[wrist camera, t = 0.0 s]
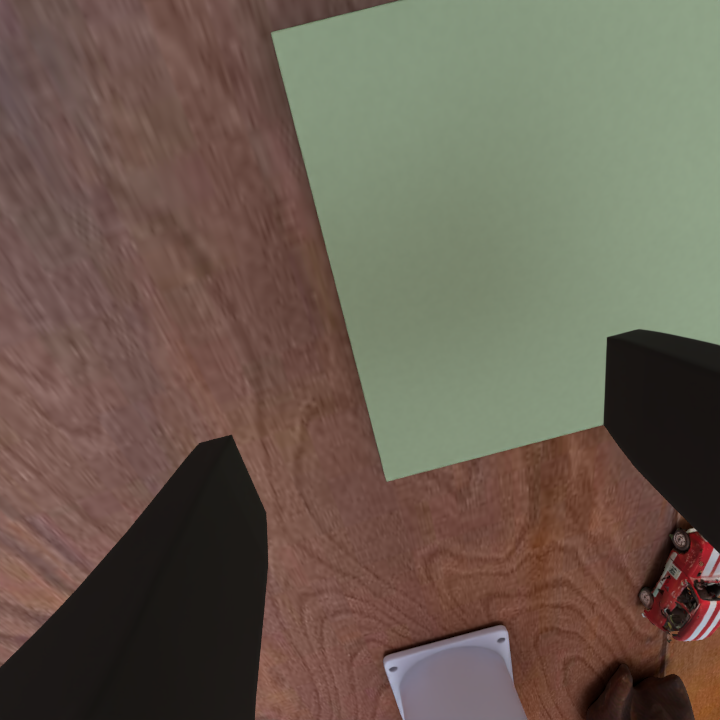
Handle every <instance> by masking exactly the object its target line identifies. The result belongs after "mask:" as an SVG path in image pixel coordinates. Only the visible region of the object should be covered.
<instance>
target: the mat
mask: <svg viewBox="0 0 720 720" xmlns="http://www.w3.org/2000/svg"><path fill="white" fill-rule="evenodd" d="M271 36H272V40H273V44H274V48H275V52H276V56H277V59H278V63H279V67H280V71H281V75H282V79H283V83H284V87H285V90H286V94H287V98H288V102H289V106H290V110H291V114H292V118H293V122H294V125H295V129H296V133H297V137H298V141H299V145H300V149H301V153H302V156H303V160H304V164H305V168H306V172H307V176H308V180H309V184H310V188H311V191H312V195H313V199H314V203H315V207H316V211H317V215H318V219H319V222H320V226H321V230H322V234H323V238H324V242H325V246H326V250H327V254H328V257H329V261H330V265H331V269H332V273H333V277H334V281H335V285H336V288H337V292H338V296H339V300H340V304H341V308H342V312H343V316H344V320H345V323H346V327H347V331H348V335H349V339H350V343H351V347H352V351H353V354H354V358H355V362H356V366H357V370H358V374H359V378H360V382H361V386H362V389H363V393H364V397H365V401H366V405H367V409H368V413H369V417H370V420H371V424H372V428H373V432H374V436H375V440H376V444H377V448H378V452H379V455H380V459H381V463H382V467H383V471H384V475H385V479H386V481H391V480H395V479H399V478H402V477H406V476H410V475H414V474H418V473H421V472H425V471H429V470H433V469H437V468H440V467H444V466H448V465H452V464H456V463H460V462H463V461H467V460H471V459H475V458H479V457H482V456H486V455H490V454H494V453H498V452H501V451H505V450H509V449H513V448H517V447H521V446H524V445H528V444H532V443H536V442H540V441H543V440H547V439H551V438H555V437H559V436H562V435H566V434H570V433H574V432H578V431H581V430H585V429H589V428H593V427H597V426H601V425H603V423H604V397H605V372H606V347H607V337H610V336H613V335H617V334H621V333H625V332H629V331H633V330H637V329H642V330H650V331H656V332H662V333H667V334H672V335H677V336H682V337H687V338H691V339H696V340H700V341H705V342H709V343H713V344H718V345H720V0H399V1H395V2H391V3H387V4H383V5H379V6H375V7H371V8H367V9H363V10H359V11H355V12H351V13H347V14H343V15H338V16H334V17H330V18H326V19H322V20H318V21H314V22H310V23H306V24H302V25H298V26H294V27H290V28H286V29H282V30H278V31H274V32H272V33H271Z"/></svg>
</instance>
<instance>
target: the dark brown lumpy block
mask: <svg viewBox="0 0 720 720" xmlns="http://www.w3.org/2000/svg"><path fill="white" fill-rule="evenodd" d="M632 684H633V679H632V676H631V673H630V670H629V668H628V666H627V665H625V664H622V665H620V666H619V668H618V670H617V671H616V673H615V674H614V675H613V676H612V677H611V679H610V680H609V682H608V684H607V686H606V688H605V690H604V692H603V693H602V694H601V695H600V697H599V698H598V699H597V700H596V701H595V702H594V703H593V704H592V705H591V706H590V708H589V709H588V711H587V717H586V720H695V719H694V715H693V711H692V707H691V703H690V700H689V697H688V694H687V691H686V689H685V686H684V684H683V682H682V680H681V679H680V677H679V676H677V675H675V674H671V675H668V676H666V677H664V678H655V677H649V678H646V679H645V680H643V681H642V682H640V683H639V684H638V685H636V686H635V687H633V685H632Z"/></svg>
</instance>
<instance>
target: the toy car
mask: <svg viewBox="0 0 720 720" xmlns="http://www.w3.org/2000/svg"><path fill="white" fill-rule="evenodd" d="M684 530H687V531H686V532H685V531H684ZM684 530H683V529H682V528H678V529H677V530H676V532H675V533H674V534H673V535H671V534H670V537H671V540H672V541H673V544H674V545H675V547H676V548H673V549H672V550H671V553H670V554H669V557H668V560H667V561H666V564H667V565H665V568H664V572H663V575H662V576H661V578H660V581H658V582H657V583H656V587H655V588H654V587H653V588H654V589H653V590H650V589H649V587H644V588H643V589H642V590H641V592H640V593H639V595H638V596H639V598H640V600H641V601H642V603H643V604H644V606H645V607H646V608H645V610H644V612H645V613H646V614H644V613H642V616H643V617H647V618H648V619H649V621H650V622H651V623H652V624H653V625H656V626H657V627H659V628H660V629H661V630H663V631H664V632H666V633H667V634H668V633H669V632H670V631H679V632H678V634H672V635H673V636H672V637H673V638H674V639H676V640H679V641H692V640H701V639H705V638H707V637H709V636H711V635H712V634H713V633H714V631H715V630H716V629H717V628H718V627H719V625H720V598H718V596H719V595H720V554H719V553H718V552H717V551H716V550H715V549H714V548H713V547H712V546H711V545H710V544H709V543H708V542H707V541H706V540H705V538H703V537H702V535H701V534H700V533H699V532H698V531H697V530H696V529H695V528H690V529H689V530H688V529H684ZM695 531H696V532H695ZM688 532H690V533H689V534H688ZM702 548H703V551H702ZM674 550H675V551H676V552H675V551H674ZM677 551H678V552H679V553H684V555H683V554H680V555H679V554H678V553H677ZM686 551H687V552H686ZM700 551H702V552H701V553H700ZM685 552H686V554H685ZM701 556H702V557H701ZM699 557H701V558H699ZM700 561H703V562H702V563H704V565H703V566H700V565H698V563H699V562H700ZM702 563H701V564H702ZM699 564H700V563H699ZM700 570H701V571H702V570H703V571H702V573H699V571H700ZM665 575H666V576H665ZM668 575H670V579H669V577H668ZM662 578H663V581H661V580H662ZM687 587H688V588H689V589H690V590H691V591H690V590H688V589H687ZM659 589H660V590H664V591H662V592H663V594H661V593H660V592H659ZM688 592H689V593H691V595H690V594H689V593H688ZM691 597H693V598H691ZM653 598H654V599H653ZM660 602H661V603H660ZM651 607H652V608H653V609H652V608H651ZM646 609H647V610H649V609H650V611H649V612H648V611H646ZM663 609H665V610H663ZM662 611H663V612H664V614H665V615H664V614H663V613H662ZM669 634H670V633H669ZM667 641H668V642H669V643H670V641H671V640H668V639H667Z"/></svg>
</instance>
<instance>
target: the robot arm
mask: <svg viewBox="0 0 720 720" xmlns="http://www.w3.org/2000/svg"><path fill="white" fill-rule="evenodd" d="M603 425H604V426H605V427H606V429H607V430H608V432H609V433H610V434H611V436H612V437H613V439H614V440H615V441H616V443H617V444H618V446H619V447H620V448H621V450H622V451H623V452H624V454H625V455H626V456H627V457H628V459H629V460H630V461H631V463H632V464H633V465H634V466H635V468H636V469H637V470H638V471H639V472H640V473H641V474H642V475H643V476H644V477H645V478H646V479H647V480H648V481H649V482H650V483H651V484H652V486H653V487H654V488H655V489H656V490H657V491H658V492H659V493H660V494H661V495H662V496H663V497H664V498H665V499H666V500H667V501H668V502H669V503H670V504H671V505H672V506H673V507H674V508H675V509H676V510H677V511H678V512H679V513H680V514H681V515H682V516H683V517H684V518H685V519H686V520H687V521H688V522H689V523H690V524H691V525H692V526H693V527H694V528H695V529H696V530H697V531H698V532H699V533H700V534H701V535H702V536H703V537H704V538H705V540H706V541H707V542H708V543H709V544H710V545H711V546H712V547H713V548H714V549H715V550H716V551H717V552H718V553H719V554H720V345H718V344H713V343H709V342H705V341H700V340H696V339H691V338H687V337H682V336H677V335H672V334H667V333H662V332H656V331H650V330H642V329H637V330H633V331H629V332H625V333H621V334H617V335H613V336H610V337H607V347H606V372H605V397H604V423H603ZM267 570H268V543H267V520H266V511H265V509H264V507H263V505H262V502H261V500H260V498H259V496H258V493H257V491H256V489H255V487H254V484H253V482H252V480H251V478H250V475H249V473H248V471H247V469H246V466H245V464H244V462H243V460H242V457H241V455H240V453H239V450H238V448H237V446H236V444H235V441H234V439H233V437H232V435H229V436H225V437H221V438H217V439H213V440H209V441H206V442H202V443H199V444H198V445H197V446H196V448H195V449H194V450H193V451H192V452H191V453H190V454H189V456H188V457H187V458H186V459H185V460H184V462H183V463H182V464H181V465H180V467H179V468H178V469H177V470H176V472H175V473H174V474H173V475H172V477H171V478H170V479H169V480H168V482H167V483H166V484H165V485H164V487H163V488H162V489H161V491H160V492H159V493H158V494H157V495H156V497H155V498H154V499H153V500H152V502H151V503H150V504H149V505H148V507H147V508H146V509H145V510H144V512H143V513H142V514H141V515H140V516H139V518H138V519H137V520H136V521H135V523H134V524H133V525H132V526H131V528H130V529H129V530H128V531H127V532H126V534H125V535H124V536H123V537H122V538H121V539H120V540H119V542H118V543H117V544H116V545H115V546H114V547H113V548H112V550H111V551H110V552H109V553H108V554H107V555H106V556H105V558H104V559H103V560H102V561H101V562H100V563H99V564H98V566H97V567H96V568H95V569H94V570H93V571H92V572H91V574H90V575H89V576H88V577H87V578H86V579H85V581H84V582H83V583H82V584H81V585H80V586H79V587H78V589H77V590H76V591H75V592H74V593H73V594H72V595H71V596H70V597H69V598H68V599H67V600H66V601H65V603H64V604H63V605H62V606H61V607H60V608H59V609H58V610H57V611H56V612H55V613H54V614H53V615H52V616H51V617H50V618H49V619H48V620H47V621H46V622H45V623H44V625H43V626H42V627H41V628H40V629H39V630H38V631H37V632H36V633H35V634H34V635H33V636H32V637H31V638H30V639H29V640H28V641H27V642H25V643H24V644H23V645H22V646H21V647H20V648H19V649H18V650H17V651H16V652H15V653H14V654H13V655H12V656H11V657H10V658H9V659H8V660H7V661H6V662H5V663H4V664H3V665H2V666H1V667H0V720H255V705H256V691H257V681H258V670H259V659H260V649H261V638H262V627H263V617H264V606H265V594H266V583H267ZM383 664H384V668H385V671H386V674H387V676H388V679H389V682H390V685H391V688H392V691H393V694H394V696H395V699H396V702H397V705H398V708H399V711H400V714H401V716H402V719H403V720H527V717H526V715H525V712H524V710H523V707H522V704H521V702H520V699H519V697H518V694H517V692H516V689H515V687H514V681H513V672H512V663H511V654H510V645H509V637H508V632H507V629H506V627H505V626H503V625H497V626H493V627H490V628H486V629H482V630H478V631H475V632H471V633H467V634H464V635H460V636H456V637H452V638H449V639H445V640H441V641H437V642H434V643H430V644H426V645H422V646H419V647H415V648H411V649H407V650H404V651H400V652H396V653H392V654H389V655H387V656H385V657H384V659H383Z"/></svg>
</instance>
